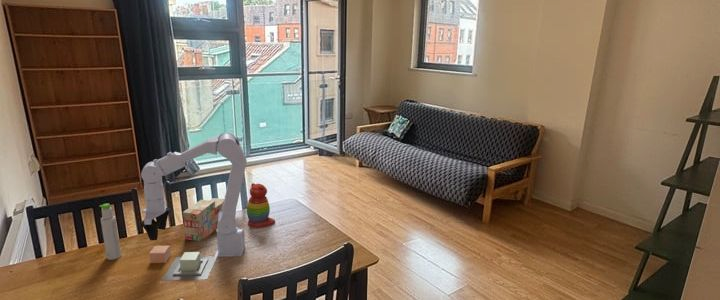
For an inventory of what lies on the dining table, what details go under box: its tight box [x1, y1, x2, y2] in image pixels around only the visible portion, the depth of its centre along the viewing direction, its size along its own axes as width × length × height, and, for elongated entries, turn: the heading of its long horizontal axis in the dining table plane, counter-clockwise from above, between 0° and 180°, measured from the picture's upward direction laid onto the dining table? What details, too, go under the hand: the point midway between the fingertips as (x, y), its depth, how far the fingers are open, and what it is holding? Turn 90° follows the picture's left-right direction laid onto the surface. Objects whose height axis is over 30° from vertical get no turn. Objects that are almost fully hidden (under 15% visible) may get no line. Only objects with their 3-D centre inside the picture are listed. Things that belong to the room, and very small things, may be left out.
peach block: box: [148, 245, 172, 264], centre depth 141 cm, size 5×5×4 cm
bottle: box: [99, 203, 122, 261], centre depth 140 cm, size 4×4×20 cm
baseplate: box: [161, 255, 218, 281], centre depth 137 cm, size 14×14×1 cm
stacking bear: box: [246, 182, 276, 229], centre depth 169 cm, size 11×10×18 cm
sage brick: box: [180, 251, 201, 272], centre depth 137 cm, size 5×5×4 cm
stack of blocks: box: [182, 197, 225, 242], centre depth 163 cm, size 21×6×12 cm, turn 169°
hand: (158, 234), depth 139 cm, fingers open, 7 cm apart
